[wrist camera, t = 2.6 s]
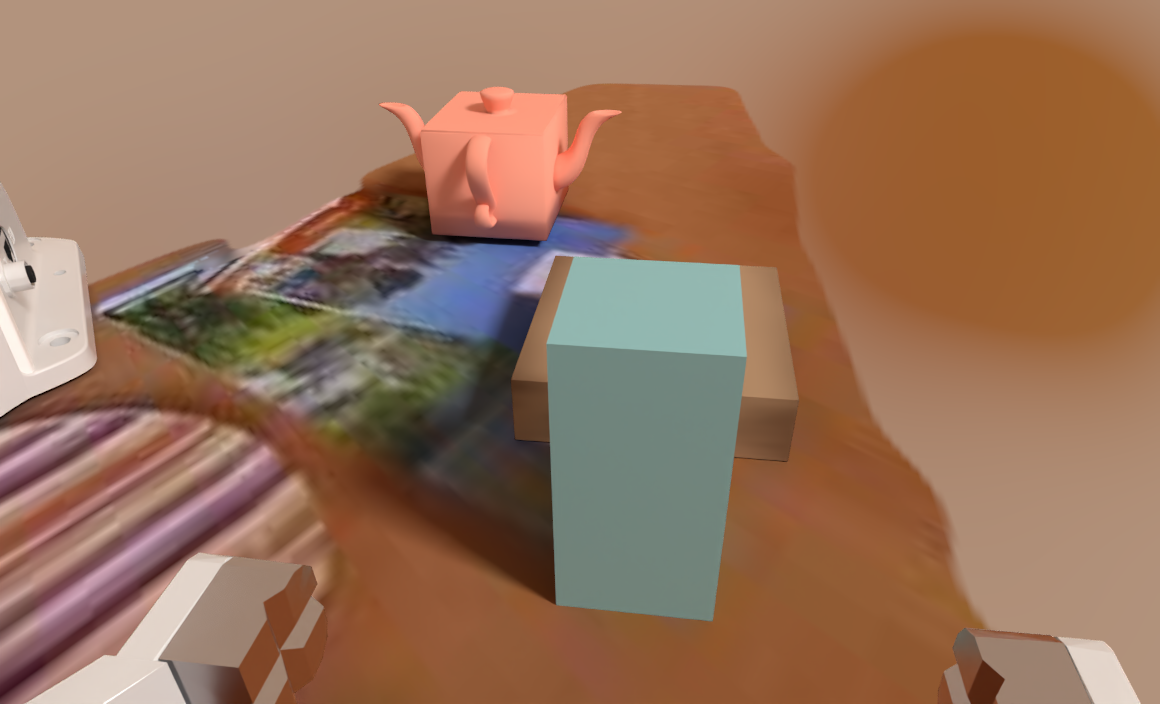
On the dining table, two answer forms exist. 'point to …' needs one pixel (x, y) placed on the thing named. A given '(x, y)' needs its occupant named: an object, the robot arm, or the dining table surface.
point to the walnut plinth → (765, 378)
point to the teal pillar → (643, 432)
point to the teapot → (498, 161)
